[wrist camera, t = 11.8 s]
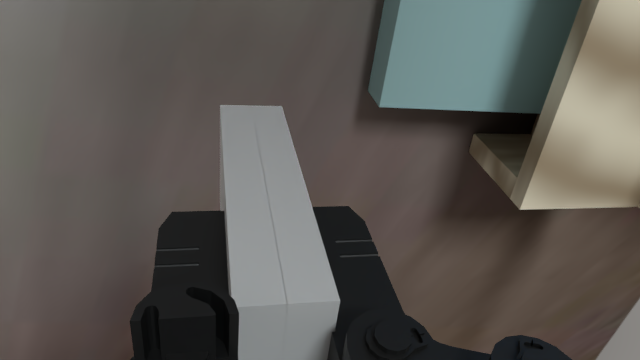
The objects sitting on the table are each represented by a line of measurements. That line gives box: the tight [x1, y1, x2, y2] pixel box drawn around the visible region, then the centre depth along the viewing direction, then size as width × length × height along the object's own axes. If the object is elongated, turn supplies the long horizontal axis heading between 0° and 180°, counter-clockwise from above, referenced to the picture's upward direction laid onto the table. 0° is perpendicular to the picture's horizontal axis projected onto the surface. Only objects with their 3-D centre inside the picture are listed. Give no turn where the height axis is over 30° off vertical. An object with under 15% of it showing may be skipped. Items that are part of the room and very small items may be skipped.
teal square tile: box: [368, 0, 582, 114], centre depth 31 cm, size 10×12×3 cm
